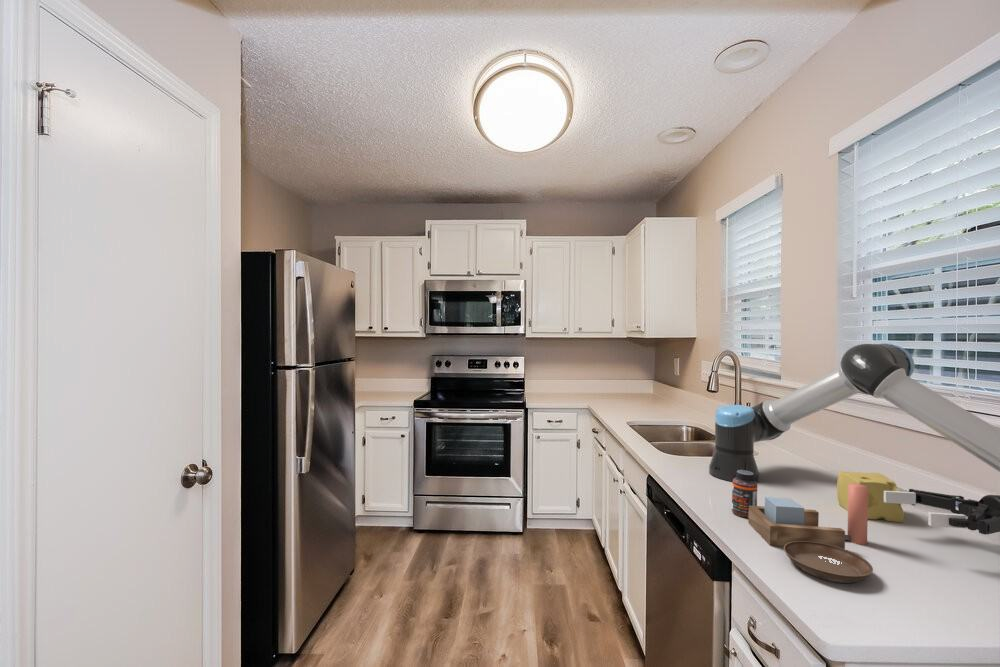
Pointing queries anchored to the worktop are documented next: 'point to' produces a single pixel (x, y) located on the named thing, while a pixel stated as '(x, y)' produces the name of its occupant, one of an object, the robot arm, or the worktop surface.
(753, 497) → the supplement bottle
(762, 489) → the worktop surface
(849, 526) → the block
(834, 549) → the saucer
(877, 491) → the cheese
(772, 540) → the wooden u-shaped frame
